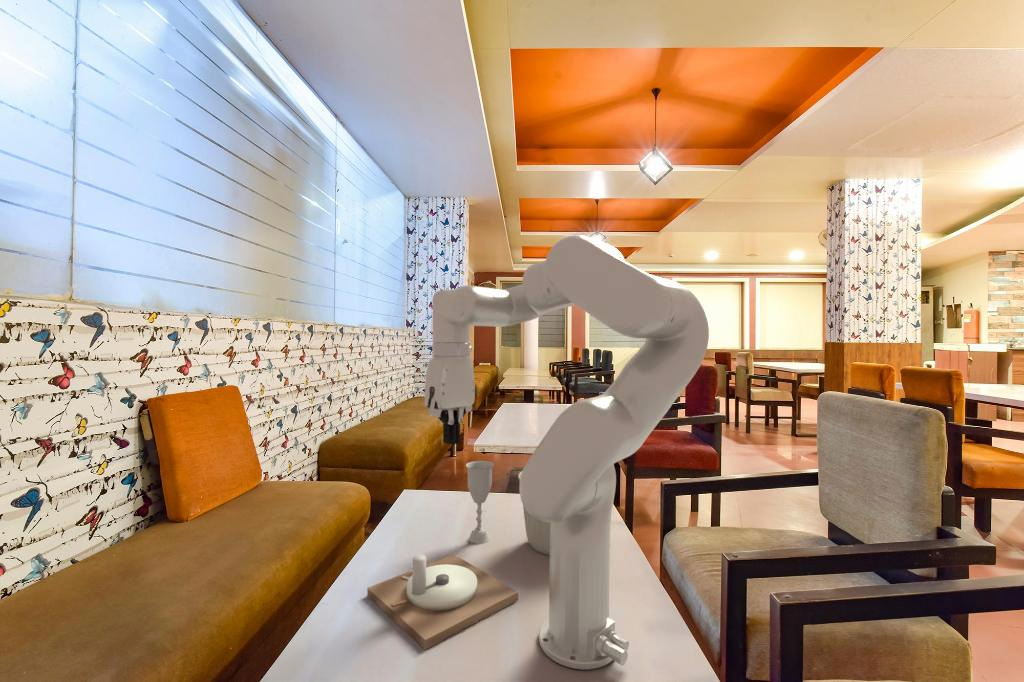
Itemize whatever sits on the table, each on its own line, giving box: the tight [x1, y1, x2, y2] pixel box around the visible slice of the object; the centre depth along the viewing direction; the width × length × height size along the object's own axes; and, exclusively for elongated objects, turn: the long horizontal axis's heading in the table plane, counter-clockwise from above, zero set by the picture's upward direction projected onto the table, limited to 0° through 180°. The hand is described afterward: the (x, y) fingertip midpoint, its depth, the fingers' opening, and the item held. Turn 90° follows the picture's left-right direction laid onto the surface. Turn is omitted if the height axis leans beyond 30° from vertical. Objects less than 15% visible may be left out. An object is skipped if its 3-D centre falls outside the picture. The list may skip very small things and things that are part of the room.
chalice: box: [465, 460, 495, 545], centre depth 110 cm, size 7×7×18 cm
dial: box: [407, 554, 477, 610], centre depth 85 cm, size 13×13×8 cm
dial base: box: [366, 553, 519, 650], centre depth 85 cm, size 20×20×2 cm
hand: (451, 443), depth 91 cm, fingers closed
